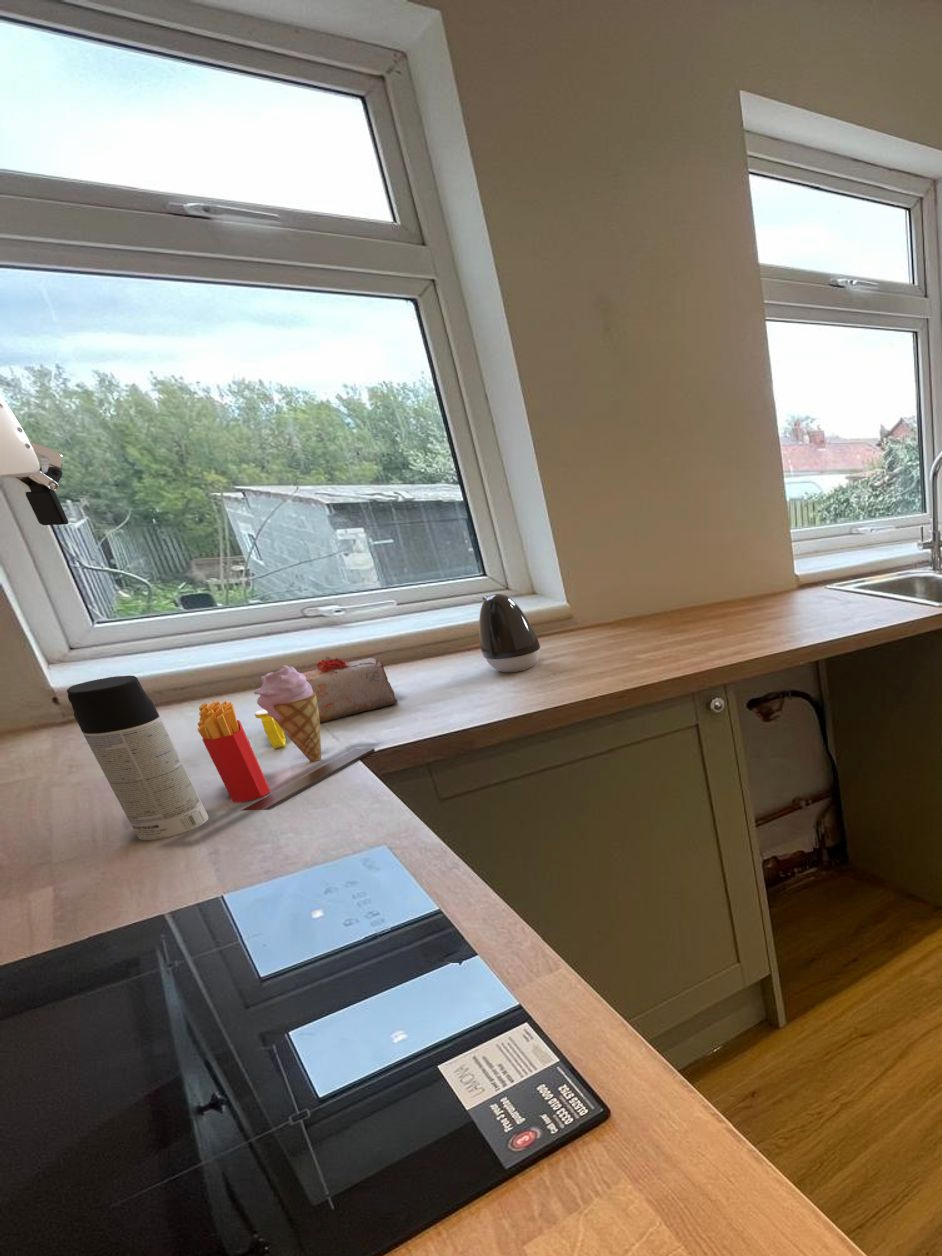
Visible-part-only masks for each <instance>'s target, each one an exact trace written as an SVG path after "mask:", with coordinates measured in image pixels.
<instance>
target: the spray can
mask: <svg viewBox="0 0 942 1256" xmlns="http://www.w3.org/2000/svg"><path fill="white" fill-rule="evenodd" d="M66 693H67V699H68V701H69V702H70V704H71V707H72V711H73V716H74V719H75V720H76V723H77V725H78V727H79V728H80V731H81V733H82V734H83V737H84V739H85V741H86V742H87V744H88V746H89V748H90V750H91V752H92V754H93V756H94V757H95V759H96V761H97V763H98V765H99V767H100V769H101V771H102V772H103V775H104V776H105V779H106V780H107V782H108V784H109V786H110V788H111V790H112V791H113V793H114V795H115V797H116V799H117V801H118V803H119V805H120V807H121V808H122V811H123V812H124V814H125V816H126V818H127V820H128V822H129V823H130V825H131V828H132V830H133V831H134V833H135V835H136V837H137V839H139V840H142V841H148V840H149V841H150V840H152V841H153V840H158V839H164V838H169V837H173V836H177V835H180V834H182V833H186V832H188V831H192V830H193V829H197V828H198V827H200V826H202V825H203V824H205V823H206V822H207V821H209V816H208V813H207V811H206V809H205V807H204V805H203V803H202V801H201V799H200V795H199V794H198V792H197V790H196V788H195V786H194V784H193V782H192V780H191V778H190V775H189V774H188V771H187V769H186V767H185V765H184V764H183V763H184V762H183V761H182V759H181V757H180V755H179V753H178V750H177V749H176V747H175V744H174V741H173V740H172V738H171V736H170V734H169V732H168V730H167V728H166V726H165V723H164V722H163V720H162V718H161V716H160V713H159V712H158V710H157V708H156V706H155V704H154V702H153V700H152V699H151V698H150V697H149V695H148V694H147V692H146V691H145V690H144V688H143V686H142V684H141V682H140V681H139V679H138V677H137V676H136V675H117V676H116V675H115V676H109V677H104V678H98V679H93V680H88V681H85V682H80V683H77V684H74V685H71V686H69V687H68V688H67V689H66Z"/></svg>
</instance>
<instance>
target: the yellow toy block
mask: <svg viewBox="0 0 942 1256" xmlns="http://www.w3.org/2000/svg"><path fill="white" fill-rule="evenodd" d="M254 716H255V718H256V719H260V720H261V723H262V727H263V729H264V732H265V735H266V737H267V739H268V741H269V743H270V745H271V746H272V748H273V749H280V748H285V747H286V742H287V739H286V736H285V735H286V734H285V732H284V731H283V730H282V729H281V727H280V726H279V725H278V724H277V722H276V721H275V720H274V718H273V717H270V716H269V714H268V712H267V711H266V710H264V709H263V708H261V709H259V710H257V711H255V712H254Z"/></svg>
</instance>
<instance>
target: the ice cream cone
mask: <svg viewBox="0 0 942 1256" xmlns="http://www.w3.org/2000/svg"><path fill="white" fill-rule="evenodd" d="M301 673H302V672H298V671H297V669H296V668H295V667H294V666H289V665H286V664H283V665H282V668H281V669H280V670H276V671H275V672H272V671H270V672H268V673H266V674H265V675H263V676H260V680H261V682H262V685H261V686H260V688H257V689H255V690H254V692H253V694H254V695H259V697H258V698H257V699H256V702H257V705H258V706H259V707H260V708H261V709H264V710H266V711H267V712H268V714H269V716H270V717H273V718H274V720H275V721H276V722H277V724H278V725H279V726H280V727H281V729H282V730H283V732H284V734H285V735H286V736H287V737H288V739H290V741H291V742H292V743H293V744H294V745H295V746H296V747H297V748H298V750H299V751H300V752H301V753H302V754H303V756H305V757H306V759H307V760H308V761H309V762H317V761H320V760H321V759H322V744H321V743H322V740H321V739H322V738H321V723H320V721H319V711H318V705H317V699H316V692H313V690H312V687H311V685H310V684H309V683H308V682H307V681H306V677H305V676H304V675H303V674H301Z"/></svg>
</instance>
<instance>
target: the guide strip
mask: <svg viewBox="0 0 942 1256" xmlns="http://www.w3.org/2000/svg"><path fill="white" fill-rule="evenodd" d="M374 752H376V750H375V747H374V748H373V747H371V748H368V747H367V748H353V749H352V750H351V751H349V752H346V753H344V754H342V755H341V756H339V757H337V758H336V759H334V760H331V761H330V762H328V763H326V764H325V765H323V766H320V767H319V768H317V769H315V770H313V771H311V772H310V773H308V774H306V775H303V776H301V777H300V778H298V779H296V780H294V781H293V782H290V783H289V784H287V785H285V786H283V787H281V788H279V789H278V790H276V791H273V792H272V793H270V794H267V795H266V796H264V797H262V798H261V799H259V800H257V801H255V802H254V803H252V804H250V805H248V806H246V807H244V808H242V809H240V812H245V811H246V812H247V811H248V812H249V811H269V810H272V809H273V808H275V807H277V806H279V805H281V804H283V803H284V802H286V801H288V800H290V799H291V798H293V797H295V796H297V795H298V794H300V793H302V792H304V791H305V790H307V789H309V788H311V787H313V786H315V785H316V784H319V783H320V782H323V781H324V780H325V779H327V778H330V777H331V776H333V775H334V774H336V773H338V772H340V771H342V770H344V769H345V768H347V767H350V766H351V765H353V764H354V763H356V762H358V761H359V760H361V759H364V758H365V757H367V756H369V755H370V754H372V753H374Z"/></svg>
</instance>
